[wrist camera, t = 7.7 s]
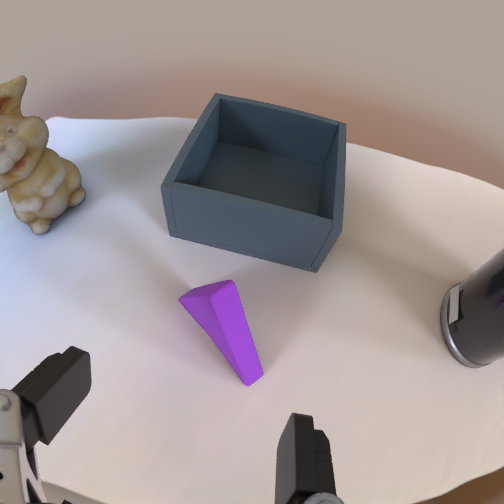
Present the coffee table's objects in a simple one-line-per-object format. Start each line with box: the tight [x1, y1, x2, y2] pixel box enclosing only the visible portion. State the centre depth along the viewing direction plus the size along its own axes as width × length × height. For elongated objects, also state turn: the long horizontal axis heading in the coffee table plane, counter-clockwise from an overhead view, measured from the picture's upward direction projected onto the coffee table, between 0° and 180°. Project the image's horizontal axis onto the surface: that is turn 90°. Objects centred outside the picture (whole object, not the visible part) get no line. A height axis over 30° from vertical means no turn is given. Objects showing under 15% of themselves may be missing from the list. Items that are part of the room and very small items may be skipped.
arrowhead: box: [179, 280, 263, 386], centre depth 22 cm, size 10×2×10 cm
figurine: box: [0, 75, 86, 235], centre depth 22 cm, size 10×8×15 cm
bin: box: [161, 93, 346, 272], centre depth 29 cm, size 14×14×7 cm
